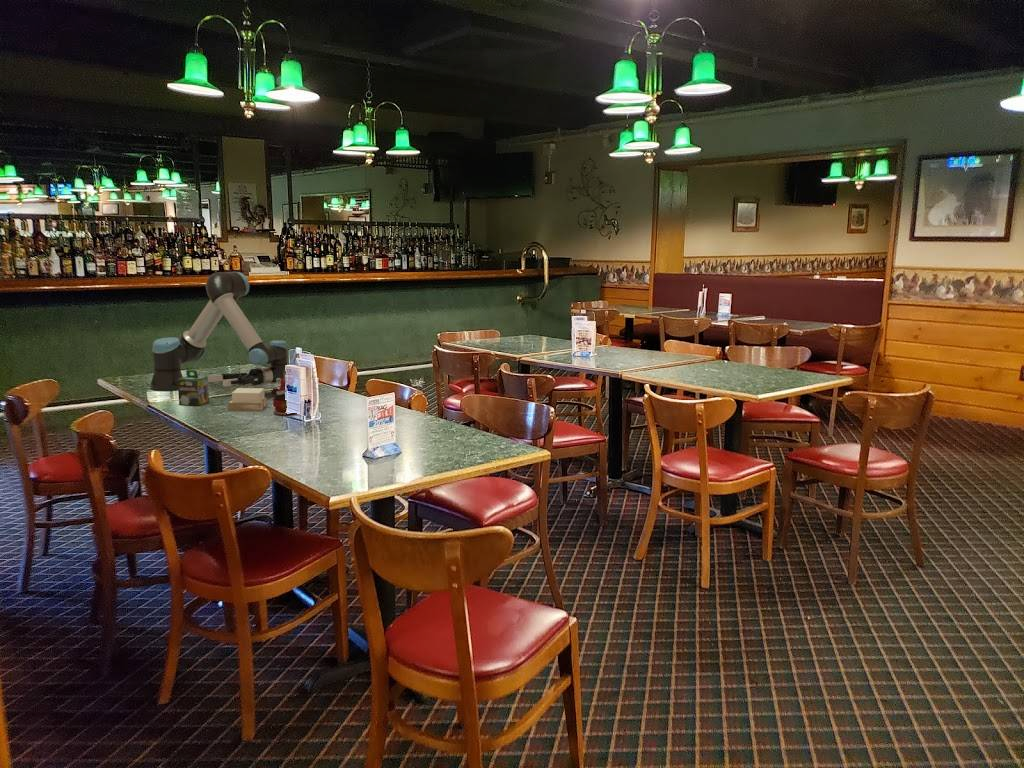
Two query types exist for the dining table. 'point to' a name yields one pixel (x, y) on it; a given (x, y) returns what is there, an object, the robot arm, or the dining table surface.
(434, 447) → the dining table surface
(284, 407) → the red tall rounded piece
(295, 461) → the dining table surface
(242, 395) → the tower top
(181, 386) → the chalk box
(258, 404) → the tower base
